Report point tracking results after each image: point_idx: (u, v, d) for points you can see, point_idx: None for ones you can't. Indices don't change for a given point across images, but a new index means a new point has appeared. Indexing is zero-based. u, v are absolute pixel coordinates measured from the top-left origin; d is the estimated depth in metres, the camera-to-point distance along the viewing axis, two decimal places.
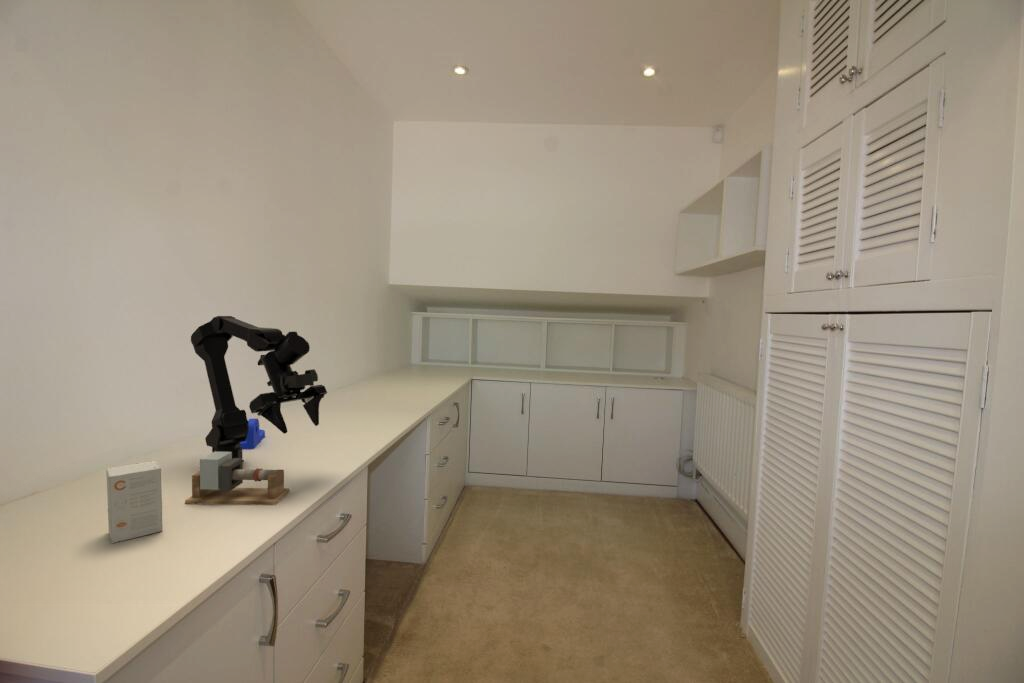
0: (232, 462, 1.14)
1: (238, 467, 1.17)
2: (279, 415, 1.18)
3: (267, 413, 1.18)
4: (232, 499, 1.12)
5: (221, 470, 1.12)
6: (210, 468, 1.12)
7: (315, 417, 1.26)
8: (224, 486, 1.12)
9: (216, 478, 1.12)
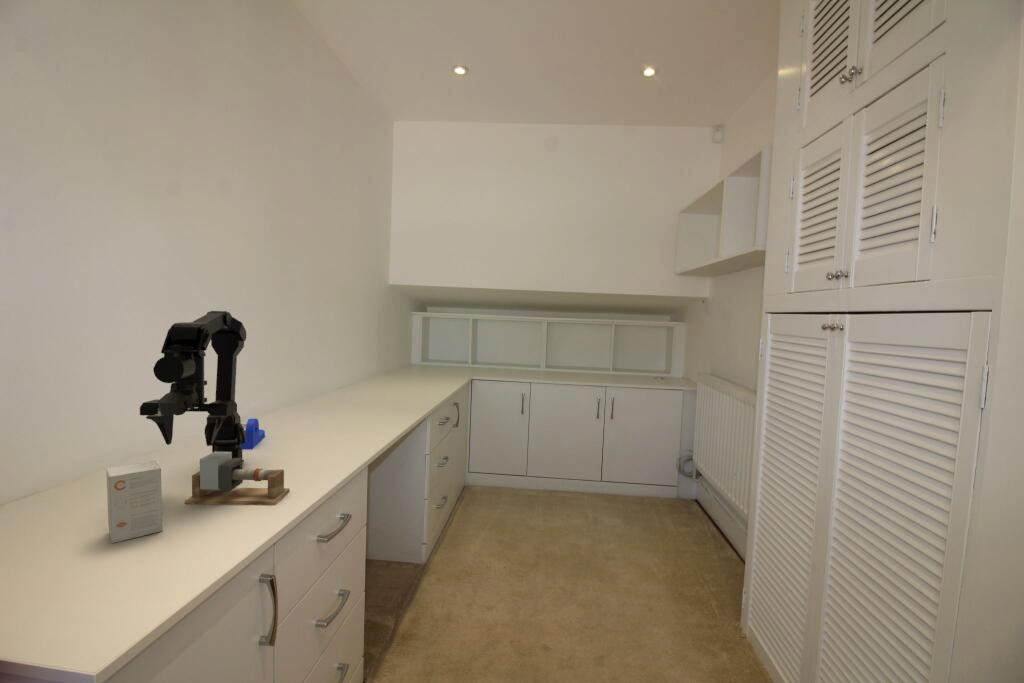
0: (232, 462, 1.14)
1: (238, 467, 1.17)
2: (162, 427, 1.12)
3: None
4: (232, 499, 1.12)
5: (221, 470, 1.12)
6: (210, 468, 1.12)
7: None
8: (224, 486, 1.12)
9: (216, 478, 1.12)
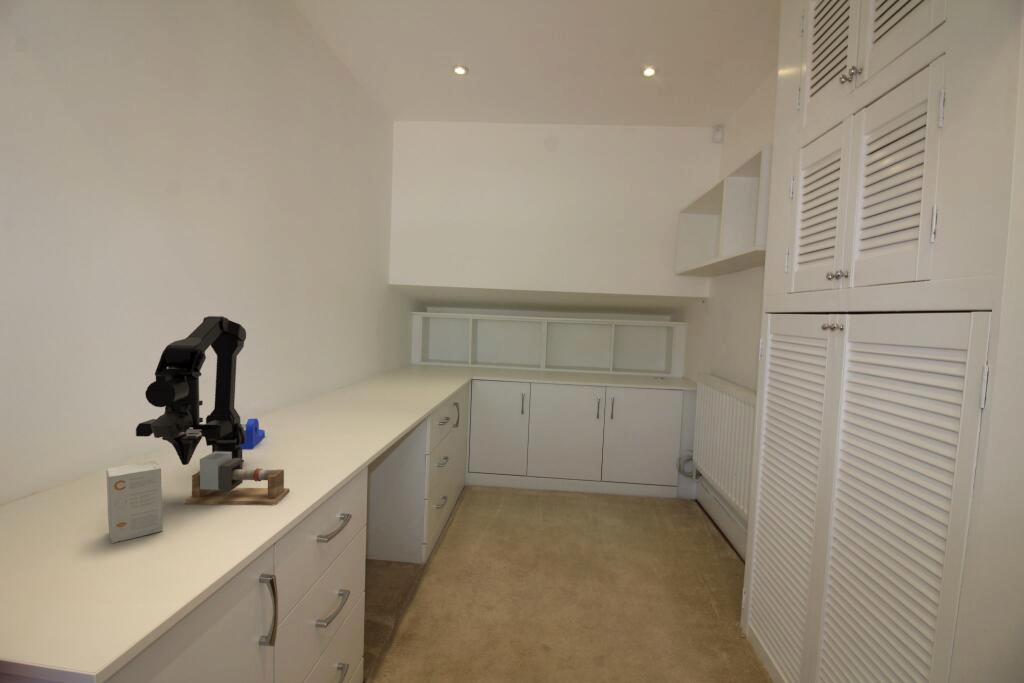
0: (232, 462, 1.14)
1: (238, 467, 1.17)
2: (177, 447, 1.13)
3: None
4: (232, 499, 1.12)
5: (221, 470, 1.12)
6: (210, 468, 1.12)
7: None
8: (224, 486, 1.12)
9: (216, 478, 1.12)
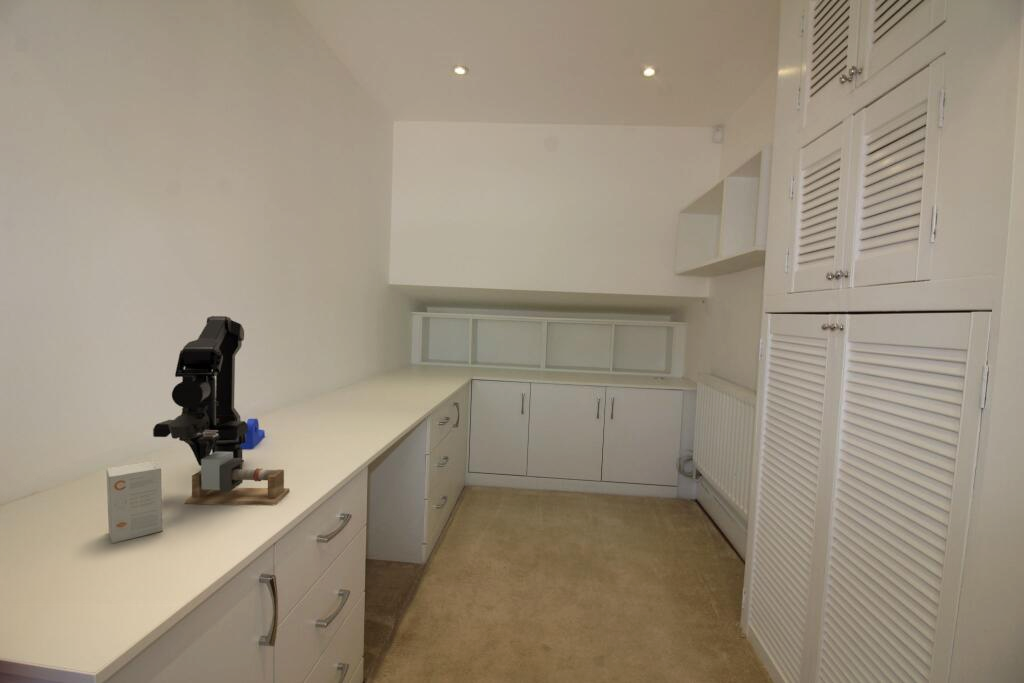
0: (232, 462, 1.14)
1: (238, 467, 1.17)
2: (194, 448, 1.13)
3: None
4: (232, 499, 1.12)
5: (221, 470, 1.12)
6: (211, 468, 1.12)
7: None
8: (224, 486, 1.12)
9: (217, 478, 1.12)
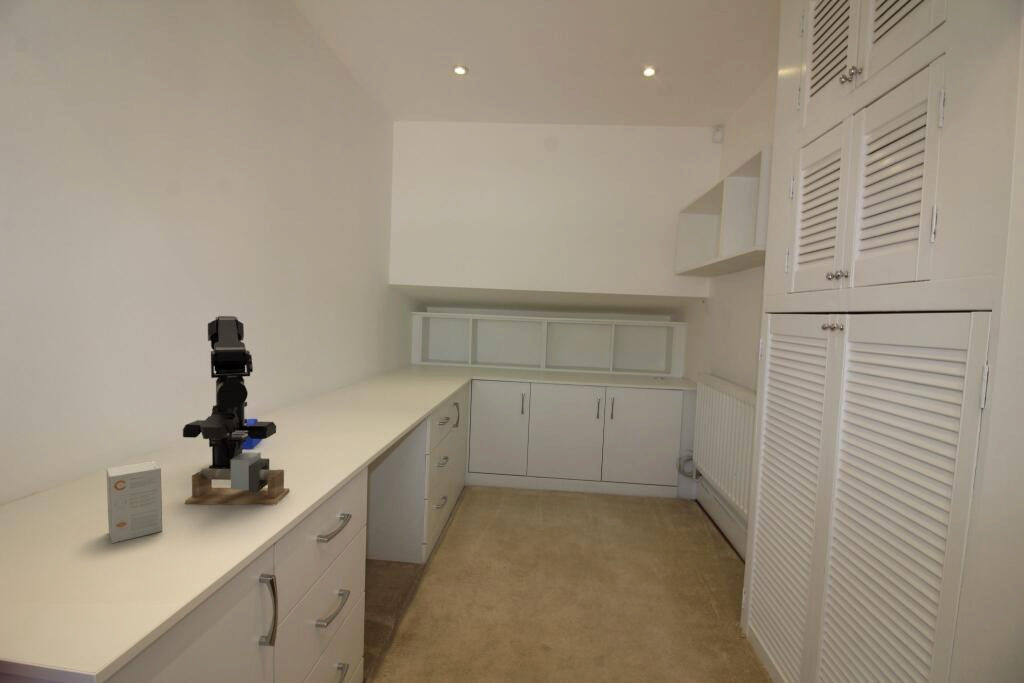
0: (260, 462, 1.15)
1: (265, 467, 1.17)
2: (223, 449, 1.13)
3: None
4: (232, 499, 1.12)
5: (249, 470, 1.12)
6: (240, 468, 1.12)
7: None
8: (252, 486, 1.12)
9: (247, 478, 1.12)
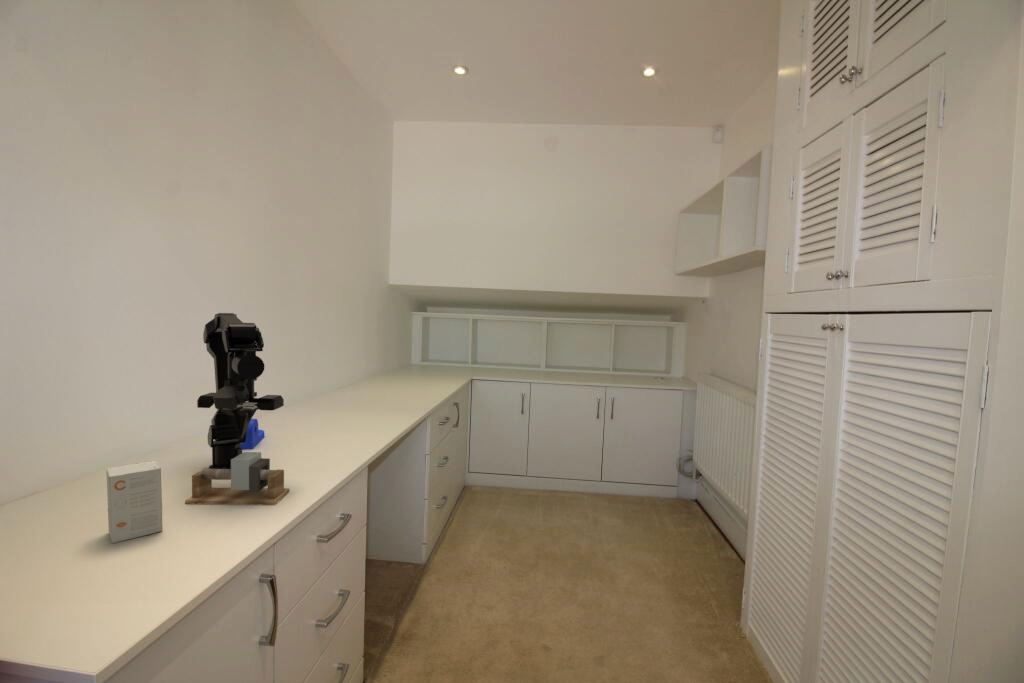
0: (260, 462, 1.15)
1: (265, 467, 1.17)
2: (234, 419, 1.21)
3: None
4: (232, 499, 1.12)
5: (250, 470, 1.12)
6: (241, 468, 1.12)
7: None
8: (253, 486, 1.12)
9: (247, 478, 1.12)
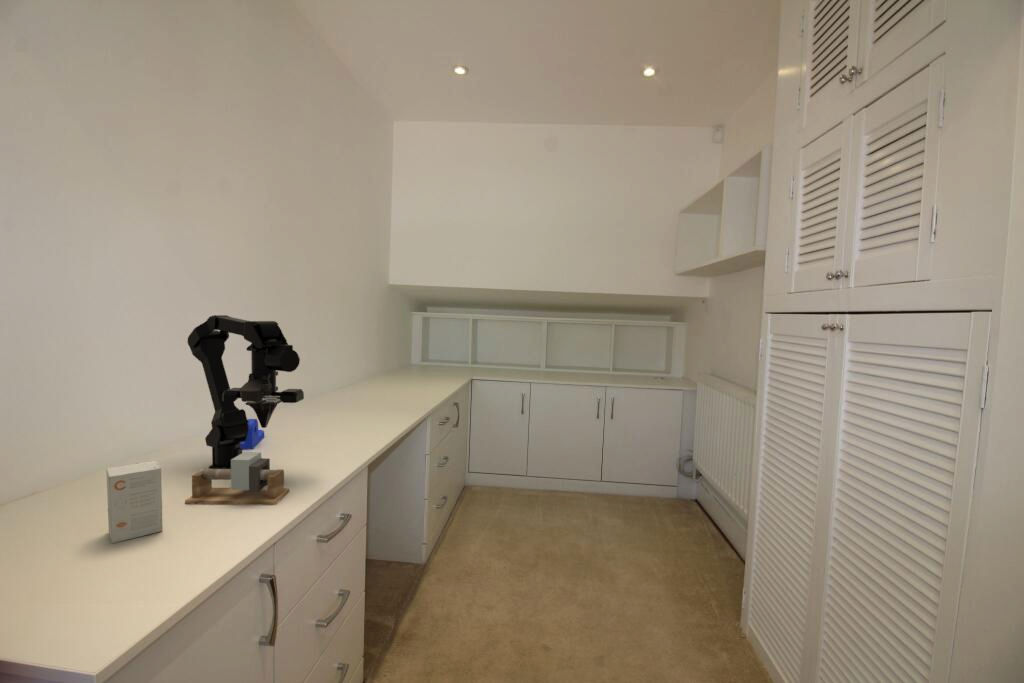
0: (260, 462, 1.15)
1: (265, 467, 1.17)
2: (258, 412, 1.28)
3: None
4: (232, 499, 1.12)
5: (250, 470, 1.12)
6: (241, 468, 1.12)
7: None
8: (253, 486, 1.12)
9: (247, 478, 1.12)
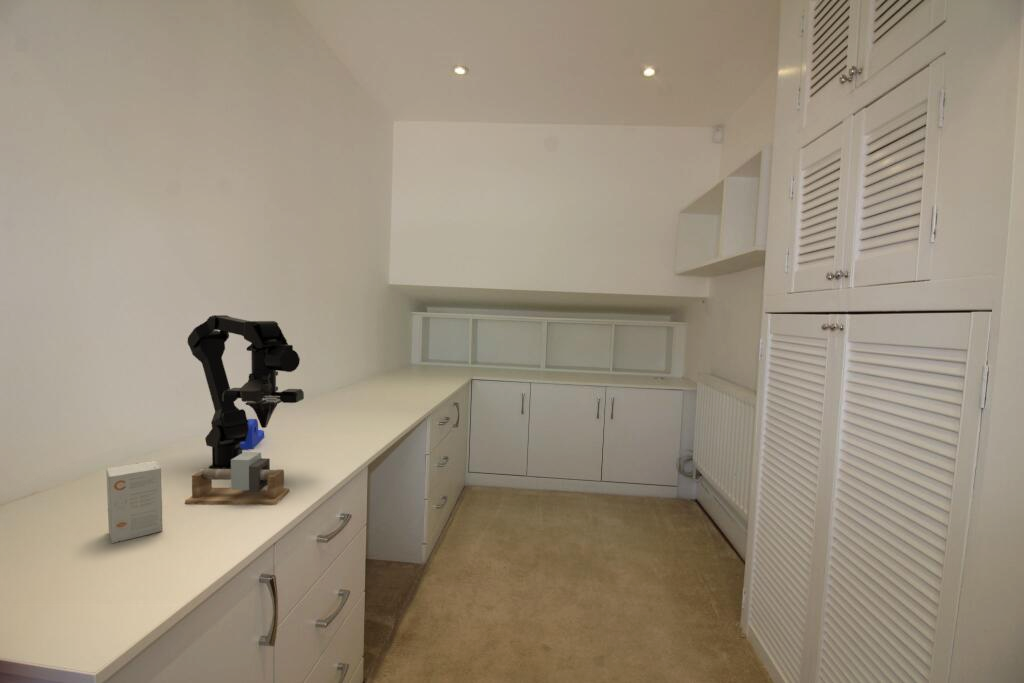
0: (260, 462, 1.15)
1: (265, 467, 1.17)
2: (258, 412, 1.28)
3: None
4: (232, 499, 1.12)
5: (250, 470, 1.12)
6: (241, 468, 1.12)
7: None
8: (253, 486, 1.12)
9: (247, 478, 1.12)
